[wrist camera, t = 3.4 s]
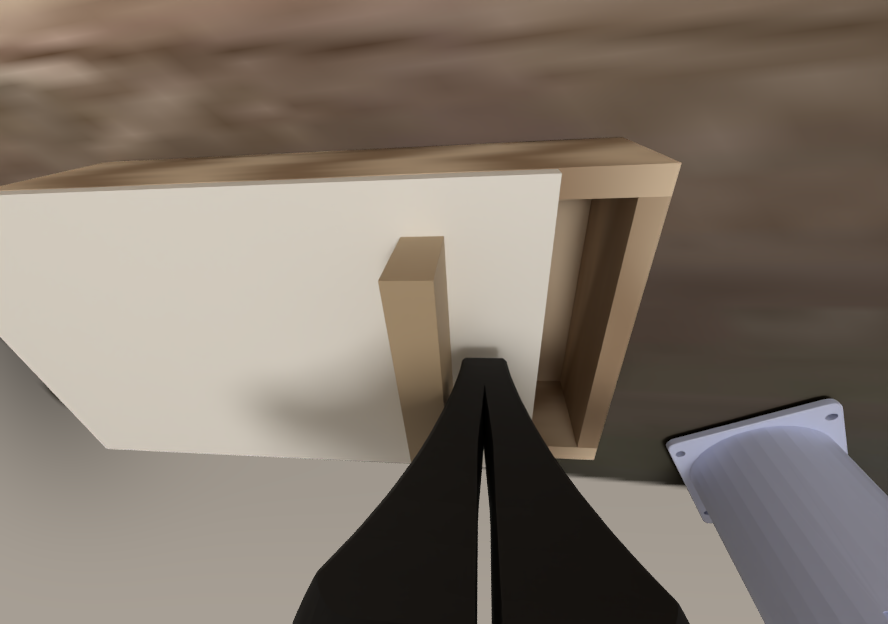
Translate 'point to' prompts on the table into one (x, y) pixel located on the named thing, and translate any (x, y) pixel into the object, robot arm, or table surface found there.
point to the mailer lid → (277, 306)
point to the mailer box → (573, 257)
